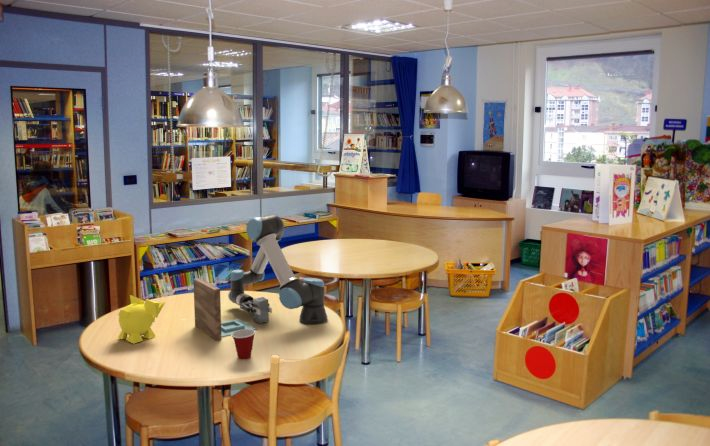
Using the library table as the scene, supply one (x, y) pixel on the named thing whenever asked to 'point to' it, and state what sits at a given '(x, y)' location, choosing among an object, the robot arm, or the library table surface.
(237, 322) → the socket
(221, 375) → the library table surface
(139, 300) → the piggy bank
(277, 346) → the library table surface
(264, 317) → the bar
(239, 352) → the plastic cup
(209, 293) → the door panel
